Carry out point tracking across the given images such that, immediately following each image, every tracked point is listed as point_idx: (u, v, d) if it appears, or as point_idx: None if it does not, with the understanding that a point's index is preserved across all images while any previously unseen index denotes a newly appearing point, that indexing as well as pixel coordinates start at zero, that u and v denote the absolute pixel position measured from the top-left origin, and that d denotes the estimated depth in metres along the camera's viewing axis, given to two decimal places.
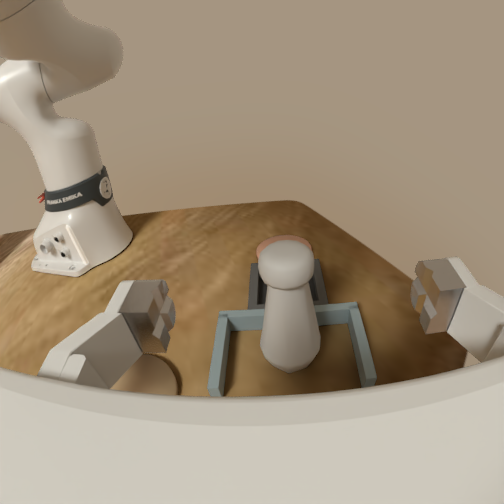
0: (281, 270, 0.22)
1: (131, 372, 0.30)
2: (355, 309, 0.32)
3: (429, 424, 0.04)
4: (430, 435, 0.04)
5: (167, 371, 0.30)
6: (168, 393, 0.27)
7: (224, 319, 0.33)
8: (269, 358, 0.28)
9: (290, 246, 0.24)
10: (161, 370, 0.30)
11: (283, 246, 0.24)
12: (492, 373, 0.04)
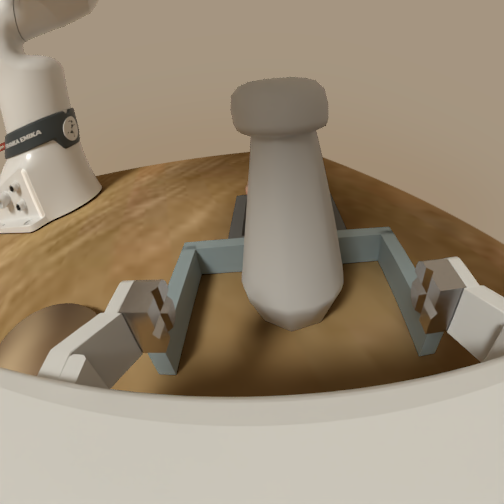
0: (268, 92, 0.11)
1: (46, 329, 0.18)
2: (390, 235, 0.21)
3: (429, 424, 0.04)
4: (430, 435, 0.04)
5: None
6: None
7: (190, 252, 0.22)
8: (256, 298, 0.16)
9: None
10: (87, 321, 0.19)
11: (273, 78, 0.13)
12: (492, 373, 0.04)
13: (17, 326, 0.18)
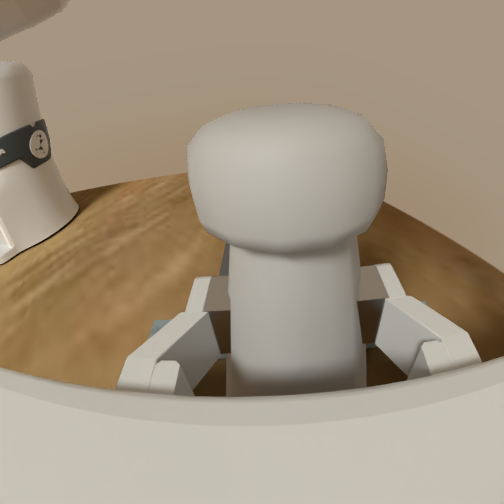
0: (263, 156, 0.05)
1: None
2: None
3: (429, 424, 0.04)
4: (430, 435, 0.04)
5: None
6: None
7: None
8: None
9: (299, 105, 0.06)
10: None
11: (275, 106, 0.06)
12: (492, 373, 0.04)
13: None
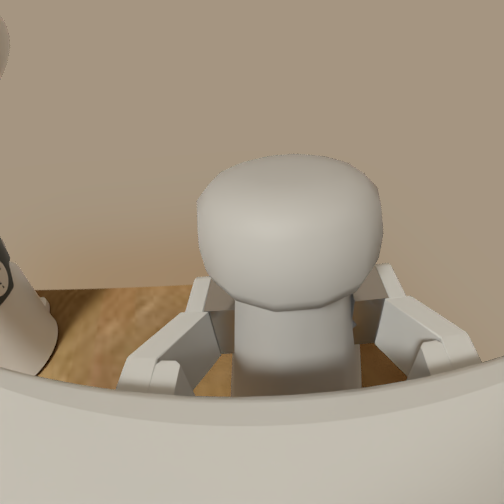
0: (260, 234, 0.05)
1: None
2: None
3: (429, 424, 0.04)
4: (430, 435, 0.04)
5: None
6: None
7: None
8: None
9: (304, 162, 0.07)
10: None
11: (281, 162, 0.07)
12: (492, 373, 0.04)
13: None
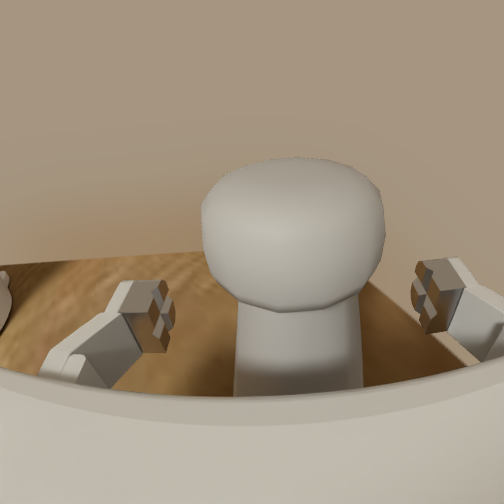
0: (265, 235, 0.05)
1: None
2: None
3: (429, 424, 0.04)
4: (430, 435, 0.04)
5: None
6: None
7: None
8: None
9: (307, 165, 0.07)
10: None
11: (284, 165, 0.07)
12: (492, 373, 0.04)
13: None
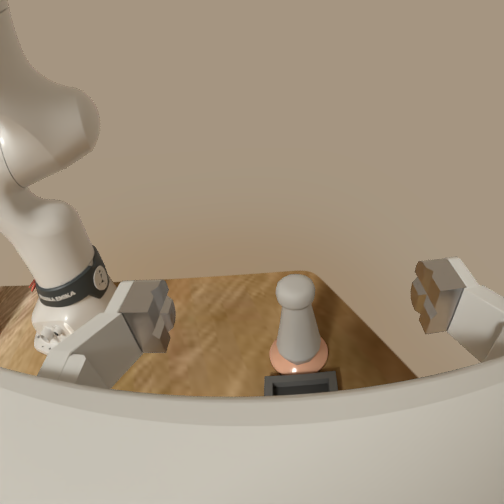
0: (290, 298, 0.33)
1: None
2: None
3: (429, 424, 0.04)
4: (430, 435, 0.04)
5: None
6: None
7: None
8: (282, 354, 0.39)
9: (298, 280, 0.34)
10: None
11: (293, 279, 0.34)
12: (492, 373, 0.04)
13: None
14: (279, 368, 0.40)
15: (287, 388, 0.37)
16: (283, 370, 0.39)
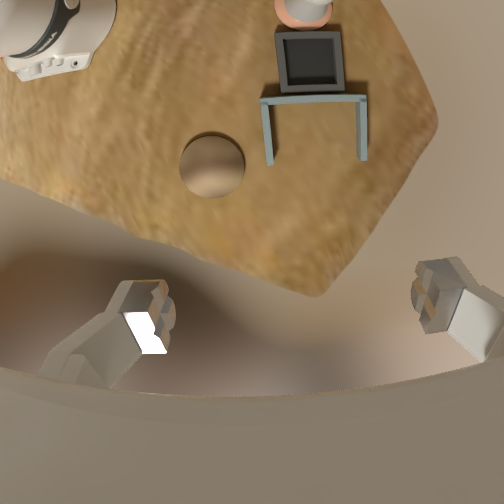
0: (314, 1, 0.23)
1: (197, 175, 0.48)
2: (364, 103, 0.39)
3: (429, 424, 0.04)
4: (430, 435, 0.04)
5: (186, 152, 0.45)
6: (201, 142, 0.45)
7: (266, 107, 0.40)
8: (291, 15, 0.32)
9: None
10: (187, 156, 0.46)
11: None
12: (492, 373, 0.04)
13: (202, 195, 0.49)
14: (286, 22, 0.34)
15: (295, 41, 0.36)
16: (290, 24, 0.34)
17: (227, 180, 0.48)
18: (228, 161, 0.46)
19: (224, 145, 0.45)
